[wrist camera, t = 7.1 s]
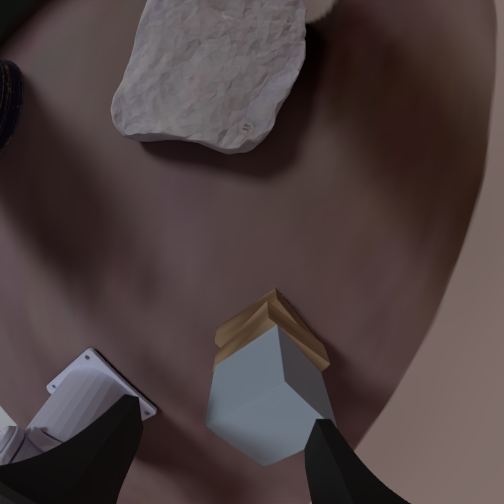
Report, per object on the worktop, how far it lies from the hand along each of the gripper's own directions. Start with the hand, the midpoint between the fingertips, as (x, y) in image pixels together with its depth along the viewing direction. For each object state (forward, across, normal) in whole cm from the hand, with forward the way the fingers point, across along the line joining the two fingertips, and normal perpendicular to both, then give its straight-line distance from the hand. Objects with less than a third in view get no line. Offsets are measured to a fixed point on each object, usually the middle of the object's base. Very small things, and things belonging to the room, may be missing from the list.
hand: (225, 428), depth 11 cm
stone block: (+11, +3, -16) cm, 20 cm away
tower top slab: (+9, -2, +1) cm, 9 cm away
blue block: (+6, -2, +1) cm, 7 cm away
